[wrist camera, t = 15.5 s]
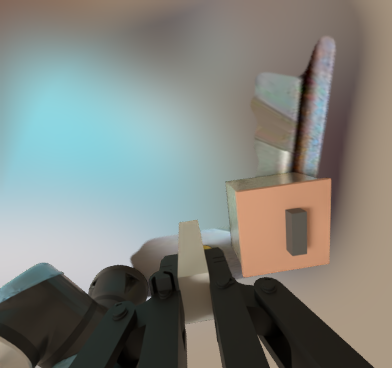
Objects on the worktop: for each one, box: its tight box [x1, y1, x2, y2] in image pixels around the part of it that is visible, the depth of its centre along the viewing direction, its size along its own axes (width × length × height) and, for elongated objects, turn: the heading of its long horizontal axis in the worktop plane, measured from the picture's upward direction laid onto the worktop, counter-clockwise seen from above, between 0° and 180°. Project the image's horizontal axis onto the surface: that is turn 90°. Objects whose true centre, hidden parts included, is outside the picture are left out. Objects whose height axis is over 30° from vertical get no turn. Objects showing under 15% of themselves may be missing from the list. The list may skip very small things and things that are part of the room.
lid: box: [235, 178, 331, 278], centre depth 41 cm, size 19×19×4 cm
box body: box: [226, 172, 318, 266], centre depth 48 cm, size 18×18×11 cm
